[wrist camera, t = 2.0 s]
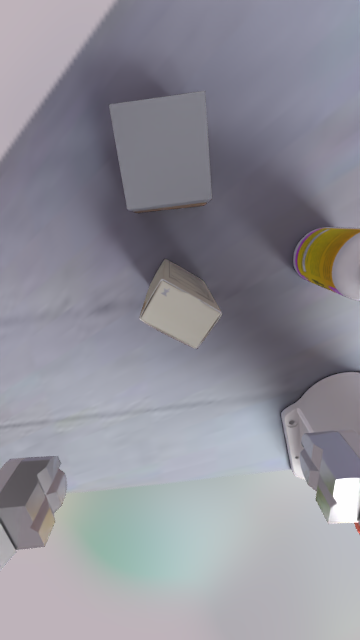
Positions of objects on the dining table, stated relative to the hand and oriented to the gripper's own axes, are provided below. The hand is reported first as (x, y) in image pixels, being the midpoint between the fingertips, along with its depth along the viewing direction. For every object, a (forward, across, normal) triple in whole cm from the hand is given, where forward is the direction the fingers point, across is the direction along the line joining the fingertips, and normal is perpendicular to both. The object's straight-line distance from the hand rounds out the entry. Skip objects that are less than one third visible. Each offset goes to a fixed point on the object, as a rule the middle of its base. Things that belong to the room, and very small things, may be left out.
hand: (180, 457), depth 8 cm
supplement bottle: (+26, -18, -2) cm, 32 cm away
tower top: (+23, 0, -13) cm, 26 cm away
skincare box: (+26, 0, 0) cm, 26 cm away
